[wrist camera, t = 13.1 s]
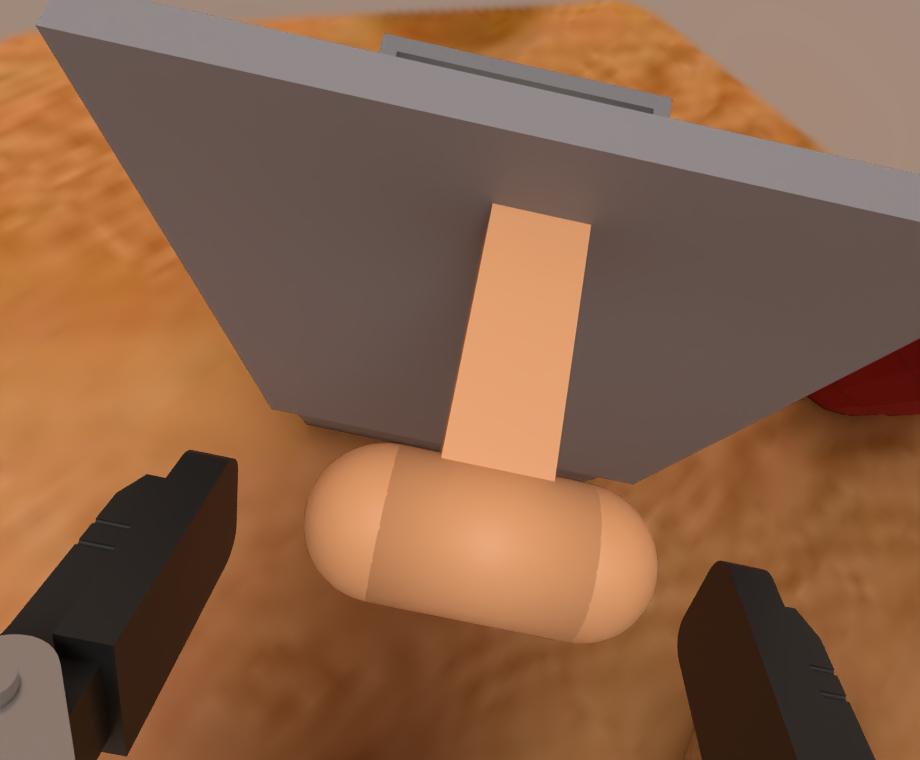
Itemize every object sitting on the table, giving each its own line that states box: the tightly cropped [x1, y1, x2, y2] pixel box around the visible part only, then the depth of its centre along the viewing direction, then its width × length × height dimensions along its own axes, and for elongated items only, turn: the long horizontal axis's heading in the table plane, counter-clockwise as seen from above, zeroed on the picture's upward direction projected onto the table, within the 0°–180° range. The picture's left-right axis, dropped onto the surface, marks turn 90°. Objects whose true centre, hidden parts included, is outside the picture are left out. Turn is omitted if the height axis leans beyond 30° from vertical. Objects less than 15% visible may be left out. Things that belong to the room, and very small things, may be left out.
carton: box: [298, 33, 672, 482], centre depth 32 cm, size 18×14×6 cm
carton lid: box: [36, 0, 920, 644], centre depth 17 cm, size 18×14×7 cm
